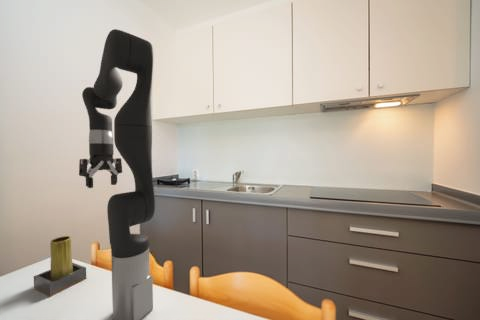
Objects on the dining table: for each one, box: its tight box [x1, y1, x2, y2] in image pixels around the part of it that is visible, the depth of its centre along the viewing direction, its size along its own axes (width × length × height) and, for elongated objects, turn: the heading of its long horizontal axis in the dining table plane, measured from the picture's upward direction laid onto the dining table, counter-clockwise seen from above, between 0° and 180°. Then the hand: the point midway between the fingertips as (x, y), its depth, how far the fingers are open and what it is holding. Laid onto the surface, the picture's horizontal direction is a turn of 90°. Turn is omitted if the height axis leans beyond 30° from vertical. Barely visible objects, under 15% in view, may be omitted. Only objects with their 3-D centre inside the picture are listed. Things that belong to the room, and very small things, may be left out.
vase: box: [50, 235, 73, 282], centre depth 70 cm, size 6×6×14 cm
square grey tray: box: [33, 262, 87, 298], centre depth 70 cm, size 10×10×4 cm
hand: (102, 186), depth 77 cm, fingers open, 8 cm apart
